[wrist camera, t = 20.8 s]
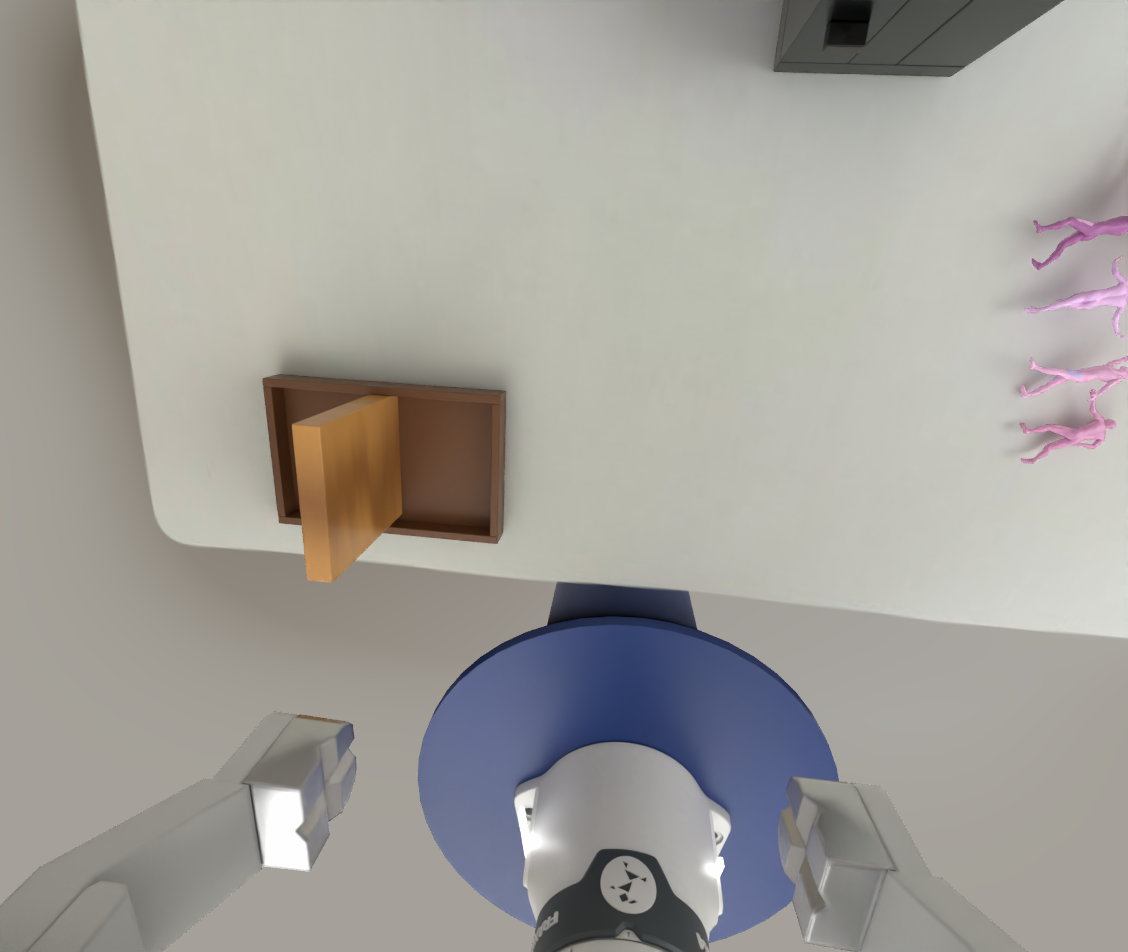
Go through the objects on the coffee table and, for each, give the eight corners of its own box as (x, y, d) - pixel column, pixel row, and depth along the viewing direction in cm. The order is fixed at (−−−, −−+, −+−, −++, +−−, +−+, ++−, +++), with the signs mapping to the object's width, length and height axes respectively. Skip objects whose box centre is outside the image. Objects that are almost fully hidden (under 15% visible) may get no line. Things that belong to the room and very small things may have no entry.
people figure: (1002, 448, 40) (1138, 428, 37) (1043, 480, 35) (1204, 459, 32) (996, 178, 34) (1157, 132, 31) (1044, 169, 29) (1241, 112, 26)
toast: (402, 513, 43) (332, 583, 33) (382, 512, 43) (306, 580, 33) (398, 392, 40) (319, 426, 30) (376, 391, 40) (290, 423, 30)
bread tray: (503, 533, 43) (497, 544, 41) (294, 513, 45) (278, 523, 43) (506, 390, 40) (500, 395, 38) (279, 374, 41) (261, 378, 39)
